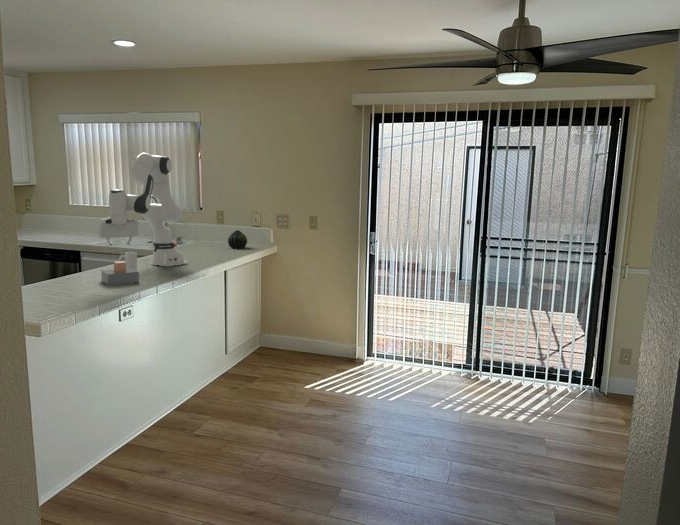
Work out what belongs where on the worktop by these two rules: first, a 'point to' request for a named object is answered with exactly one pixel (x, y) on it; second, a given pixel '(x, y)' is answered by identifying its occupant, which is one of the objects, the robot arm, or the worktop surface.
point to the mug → (130, 259)
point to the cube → (120, 266)
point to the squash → (237, 240)
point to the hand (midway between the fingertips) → (119, 245)
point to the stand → (120, 276)
